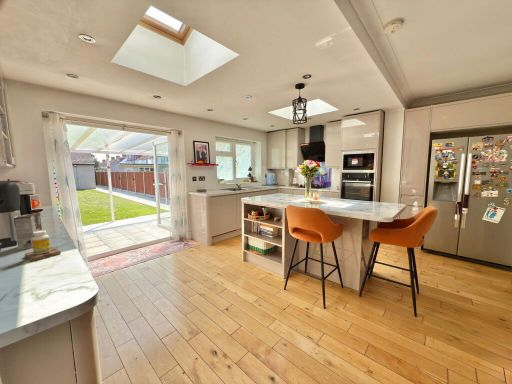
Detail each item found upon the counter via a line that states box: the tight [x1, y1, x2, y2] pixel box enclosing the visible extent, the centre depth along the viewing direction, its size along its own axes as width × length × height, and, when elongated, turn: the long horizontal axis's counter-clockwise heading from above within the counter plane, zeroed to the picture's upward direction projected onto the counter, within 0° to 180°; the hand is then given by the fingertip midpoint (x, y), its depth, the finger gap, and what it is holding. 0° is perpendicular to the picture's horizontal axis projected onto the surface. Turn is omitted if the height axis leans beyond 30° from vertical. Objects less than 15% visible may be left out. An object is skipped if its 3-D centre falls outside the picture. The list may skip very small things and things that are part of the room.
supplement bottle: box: [32, 229, 51, 255], centre depth 92 cm, size 5×5×10 cm
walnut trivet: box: [24, 246, 62, 262], centre depth 93 cm, size 11×9×2 cm
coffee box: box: [14, 213, 43, 250], centre depth 106 cm, size 9×6×16 cm
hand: (13, 241), depth 85 cm, fingers open, 8 cm apart
